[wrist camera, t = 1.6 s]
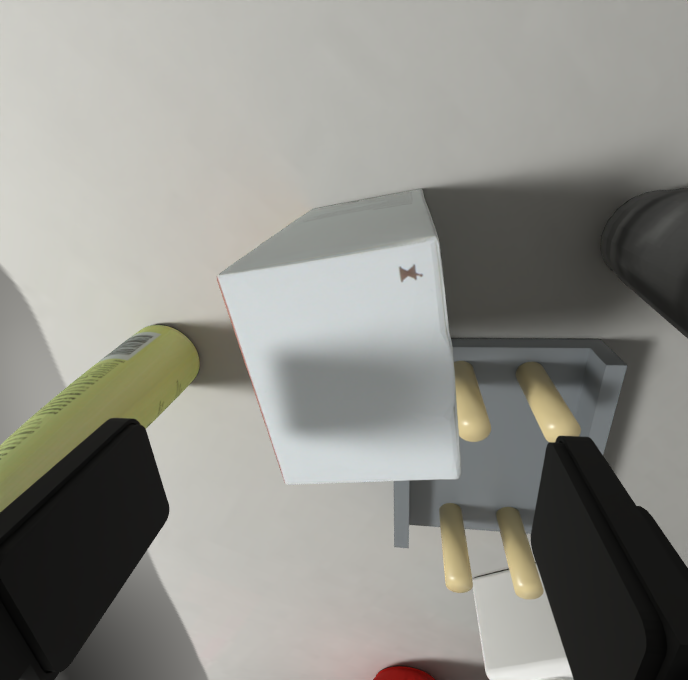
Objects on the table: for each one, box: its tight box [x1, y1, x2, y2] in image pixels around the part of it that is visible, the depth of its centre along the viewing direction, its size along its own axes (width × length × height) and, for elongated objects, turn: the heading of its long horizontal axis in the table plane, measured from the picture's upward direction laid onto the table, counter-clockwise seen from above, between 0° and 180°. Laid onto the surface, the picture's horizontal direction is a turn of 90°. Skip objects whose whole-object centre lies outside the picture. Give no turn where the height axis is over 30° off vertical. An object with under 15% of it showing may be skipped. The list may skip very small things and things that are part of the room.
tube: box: [0, 325, 200, 512], centre depth 20 cm, size 6×5×20 cm
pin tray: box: [394, 339, 627, 599], centre depth 25 cm, size 15×12×7 cm
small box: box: [217, 189, 461, 485], centre depth 18 cm, size 8×6×13 cm
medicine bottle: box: [472, 563, 574, 680], centre depth 28 cm, size 7×7×12 cm
